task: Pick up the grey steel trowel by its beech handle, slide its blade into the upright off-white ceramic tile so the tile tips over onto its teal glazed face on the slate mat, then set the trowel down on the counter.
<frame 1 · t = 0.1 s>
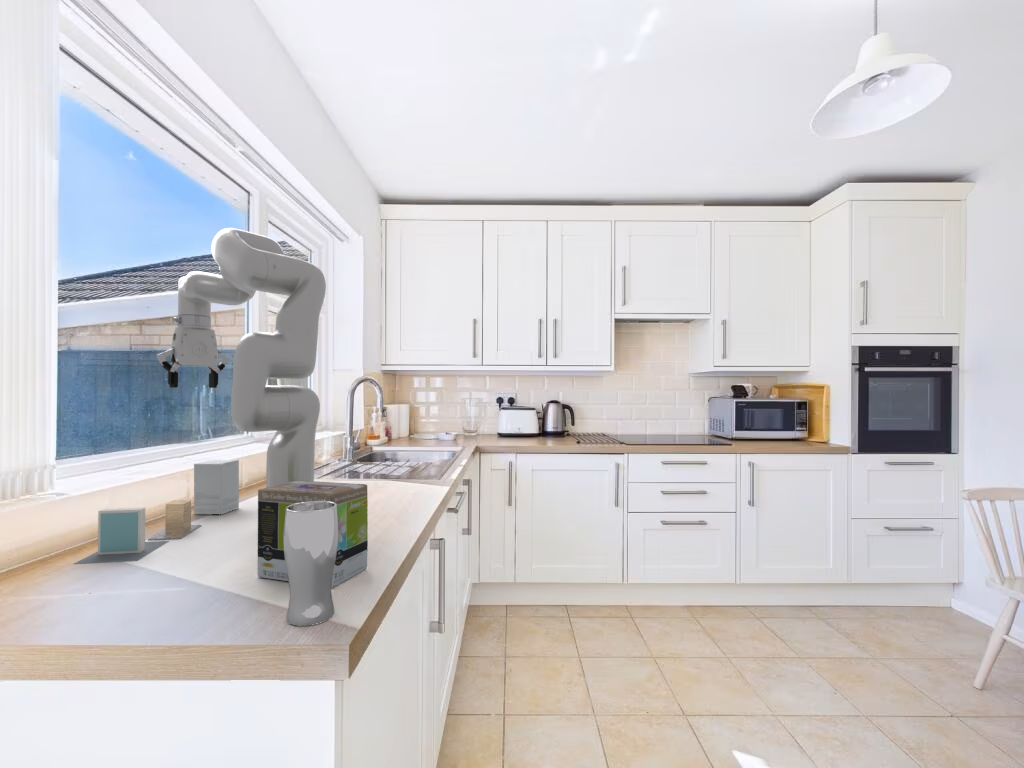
hand: (193, 387, 135), 31 cm above the counter, tool pointing down, fingers open, 9 cm apart
beer glass: (310, 617, 69), on the counter
tile: (121, 552, 95), resting on mat
tea box: (313, 574, 85), on the counter
trowel: (178, 534, 109), on the counter
supplement box: (216, 512, 128), on the counter
mat: (124, 553, 95), on the counter
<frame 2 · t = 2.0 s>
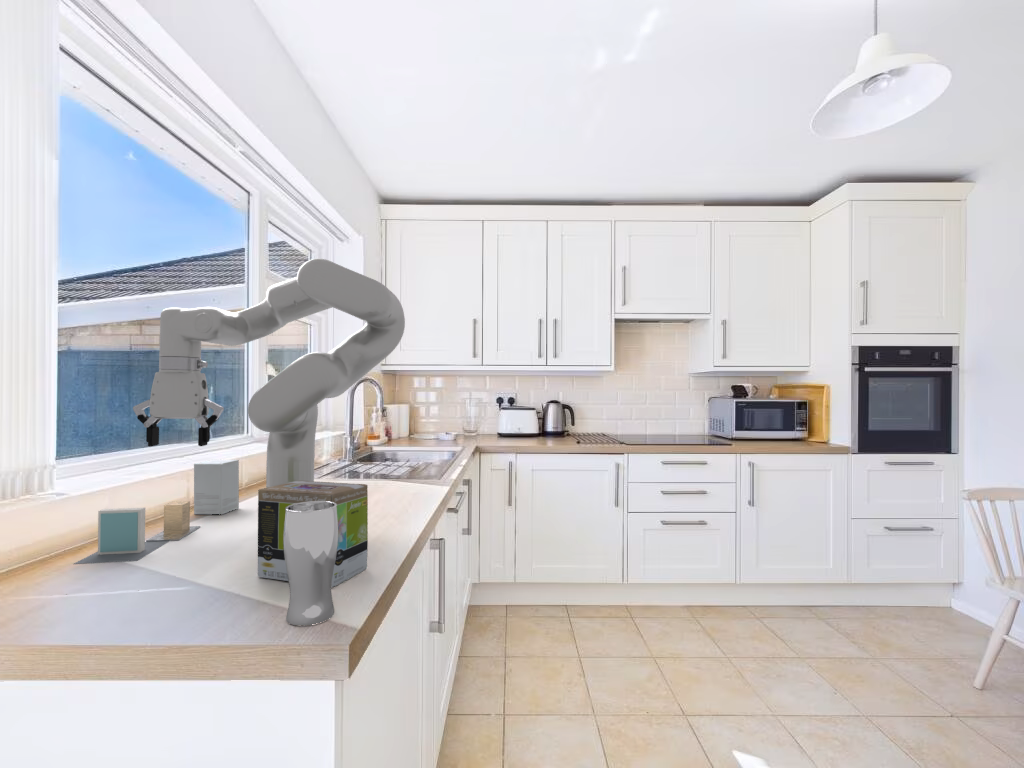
hand: (178, 445, 109), 19 cm above the counter, tool pointing down, fingers open, 9 cm apart
trowel: (176, 535, 107), on the counter
everything else where it was.
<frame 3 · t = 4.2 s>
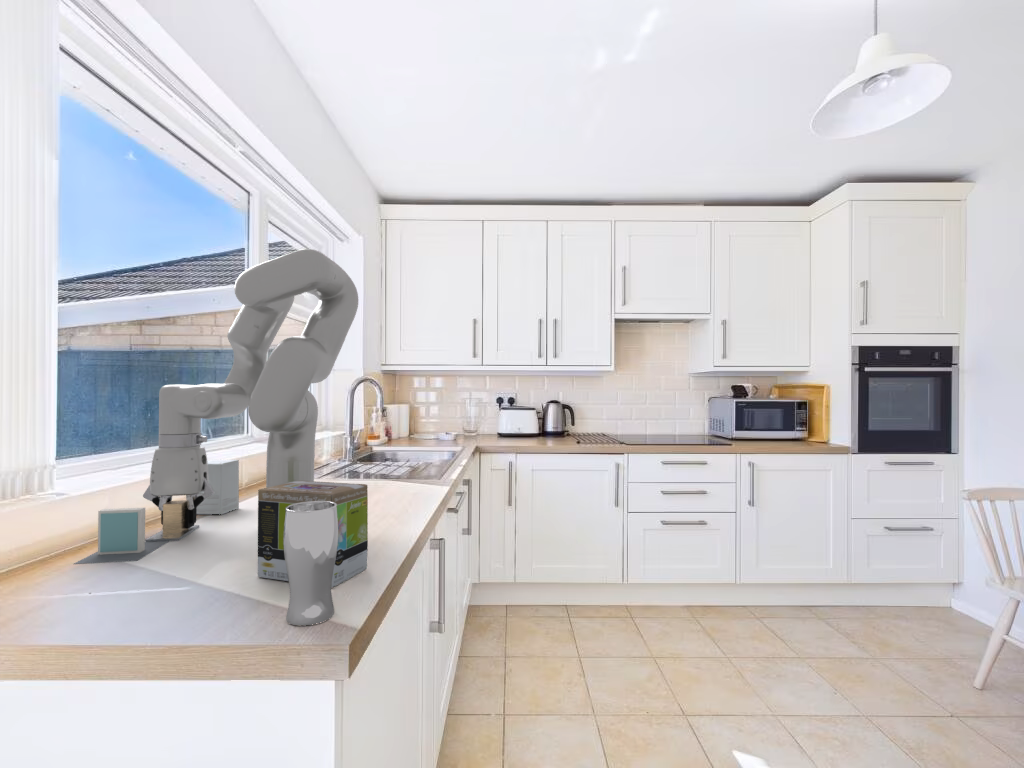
hand: (178, 526, 109), 1 cm above the counter, tool pointing down, fingers closed on trowel, 3 cm apart
trowel: (175, 534, 107), on the counter, touching gripper
everything else where it was.
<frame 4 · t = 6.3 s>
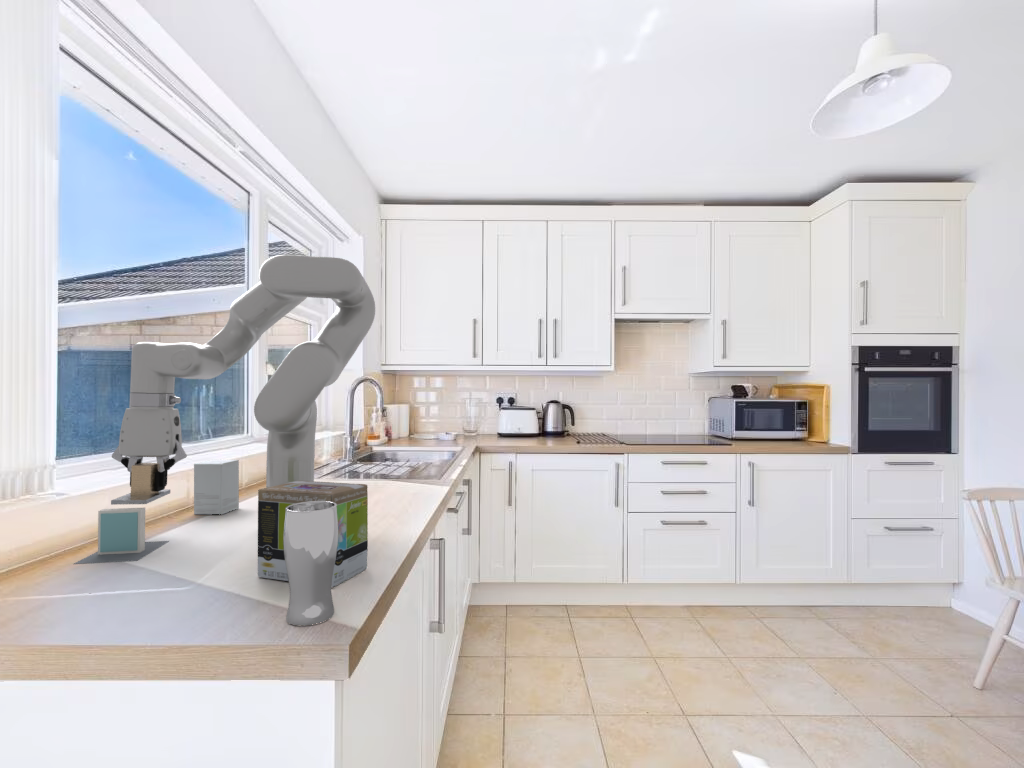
hand: (148, 489, 105), 10 cm above the counter, tool pointing down, fingers closed on trowel, 3 cm apart
trowel: (144, 497, 104), point 9 cm above the counter, touching gripper
everything else where it was.
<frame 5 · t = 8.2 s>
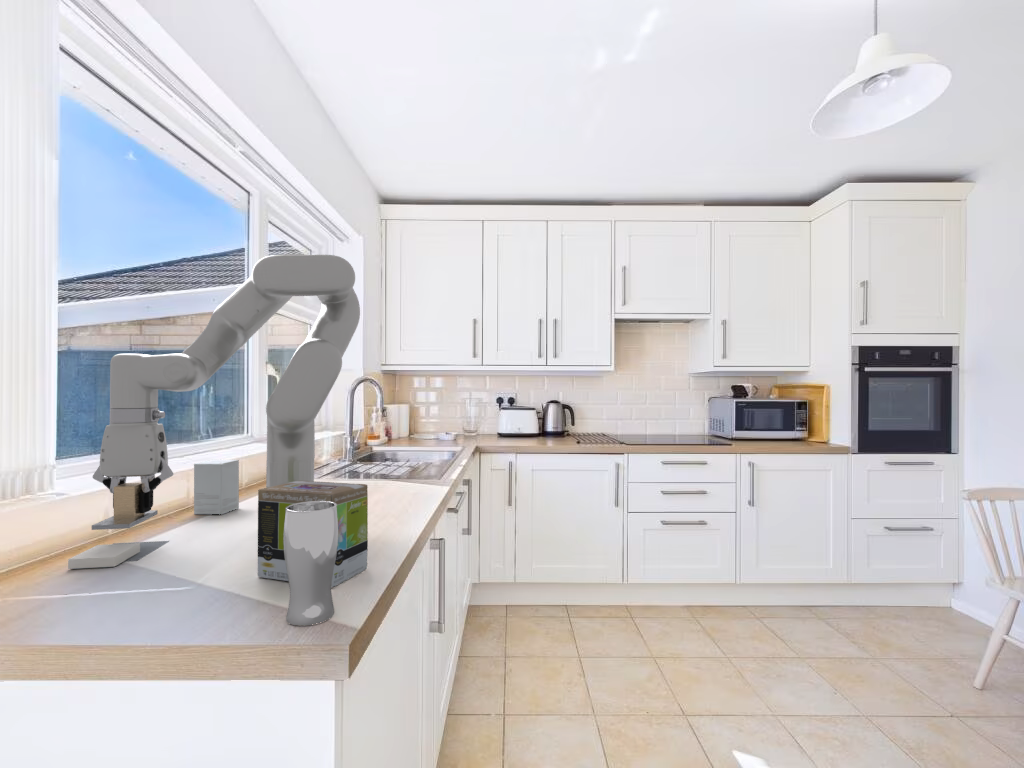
hand: (133, 511, 98), 7 cm above the counter, tool pointing down, fingers closed on trowel, 3 cm apart
tile: (118, 548, 94), point 1 cm above the counter, tilted 90°, touching mat
trowel: (129, 520, 97), point 6 cm above the counter, touching gripper
everything else where it was.
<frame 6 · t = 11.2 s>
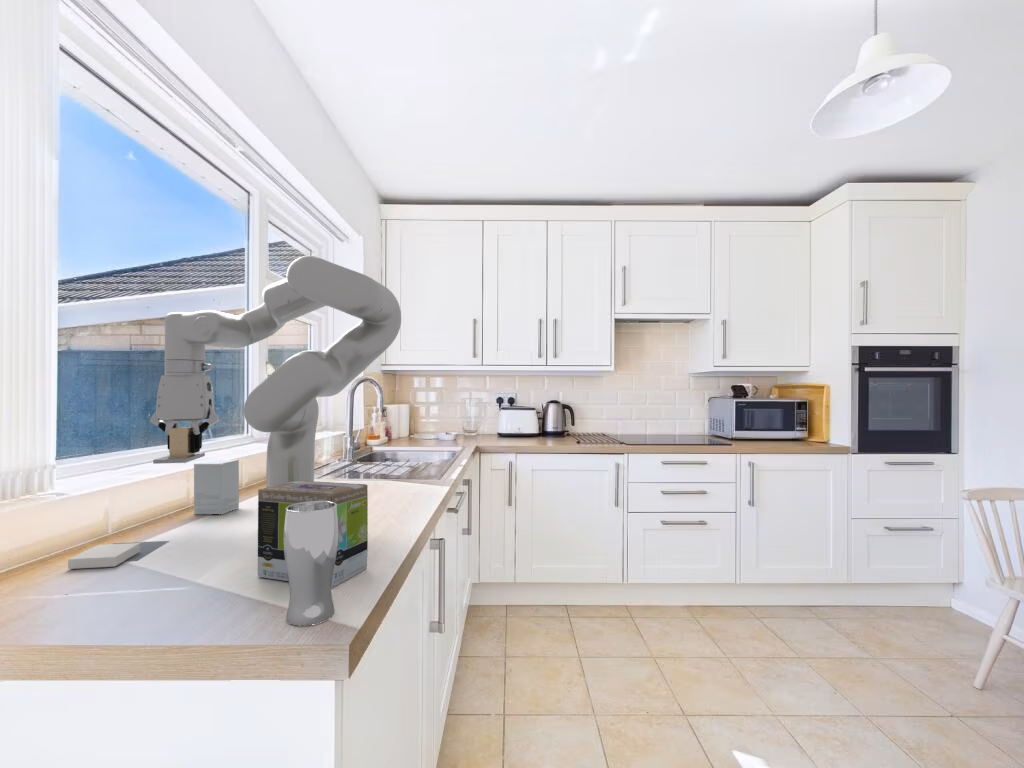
hand: (184, 451, 111), 17 cm above the counter, tool pointing down, fingers closed on trowel, 3 cm apart
trowel: (182, 458, 110), point 16 cm above the counter, touching gripper
everything else where it was.
when the fingers open (3 cm above the counter, at t = 13.7 s): trowel drops 2 cm, on the counter.
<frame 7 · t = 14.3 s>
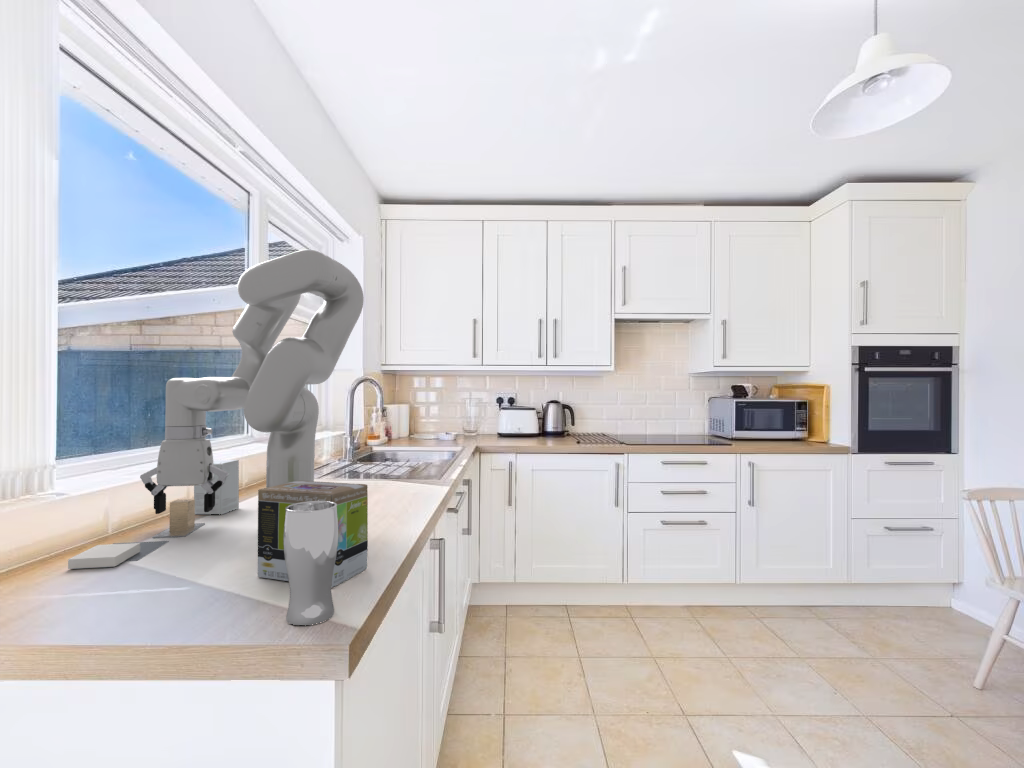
hand: (184, 511, 112), 4 cm above the counter, tool pointing down, fingers open, 9 cm apart
trowel: (182, 532, 110), on the counter
everything else where it was.
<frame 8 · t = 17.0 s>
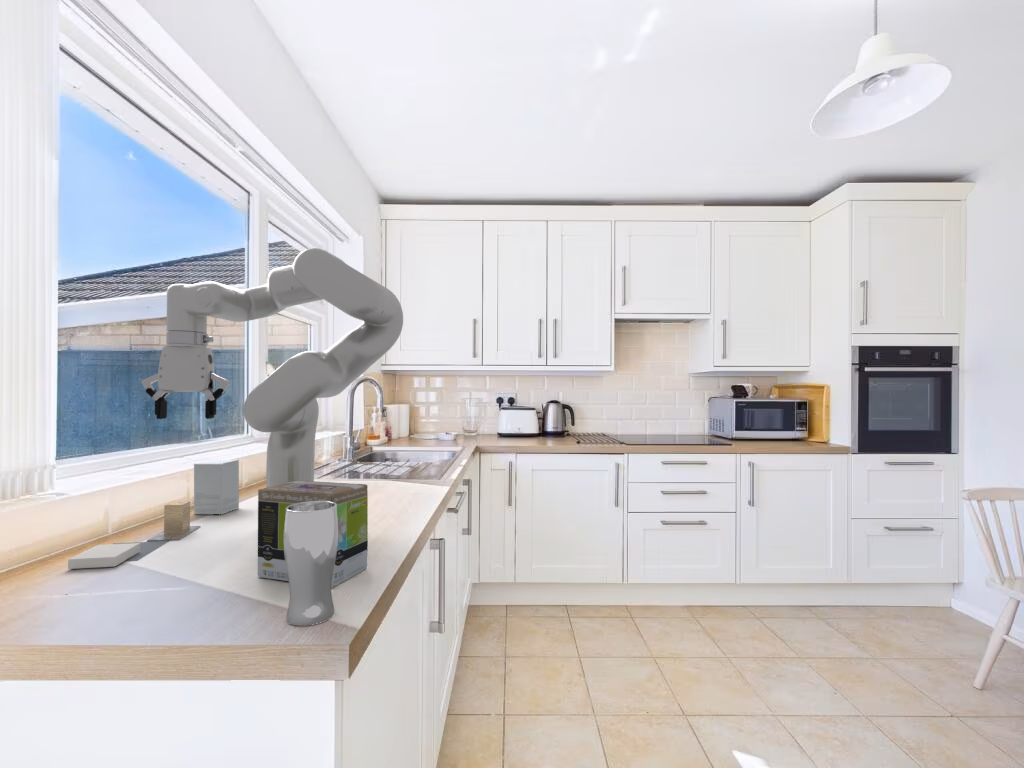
hand: (185, 418, 112), 24 cm above the counter, tool pointing down, fingers open, 9 cm apart
trowel: (177, 535, 108), on the counter
everything else where it was.
at the end: tile tilted 90°; tile inside the target area (1.5 cm from its centre), point 1.3 cm above the counter; trowel on the counter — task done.
